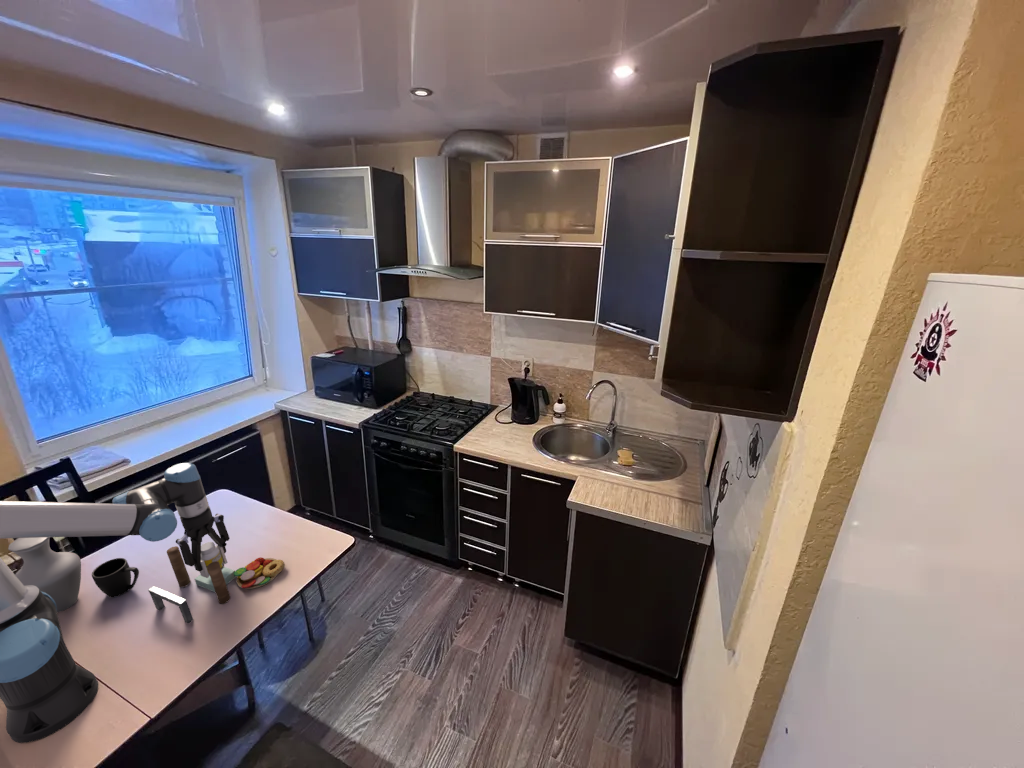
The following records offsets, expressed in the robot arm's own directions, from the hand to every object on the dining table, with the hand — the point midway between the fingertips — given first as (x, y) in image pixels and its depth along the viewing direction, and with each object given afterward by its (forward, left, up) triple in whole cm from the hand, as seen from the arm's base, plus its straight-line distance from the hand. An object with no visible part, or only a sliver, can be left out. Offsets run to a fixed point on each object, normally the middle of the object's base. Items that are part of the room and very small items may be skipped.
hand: (214, 569), depth 136 cm
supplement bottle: (0, 0, -1) cm, 1 cm away
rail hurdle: (-14, 0, -5) cm, 15 cm away
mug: (-13, +24, -5) cm, 28 cm away
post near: (-5, -9, -5) cm, 11 cm away
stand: (0, +1, -5) cm, 5 cm away
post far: (-5, +9, -5) cm, 11 cm away
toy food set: (+6, -11, -6) cm, 14 cm away
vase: (-23, +36, -5) cm, 43 cm away
